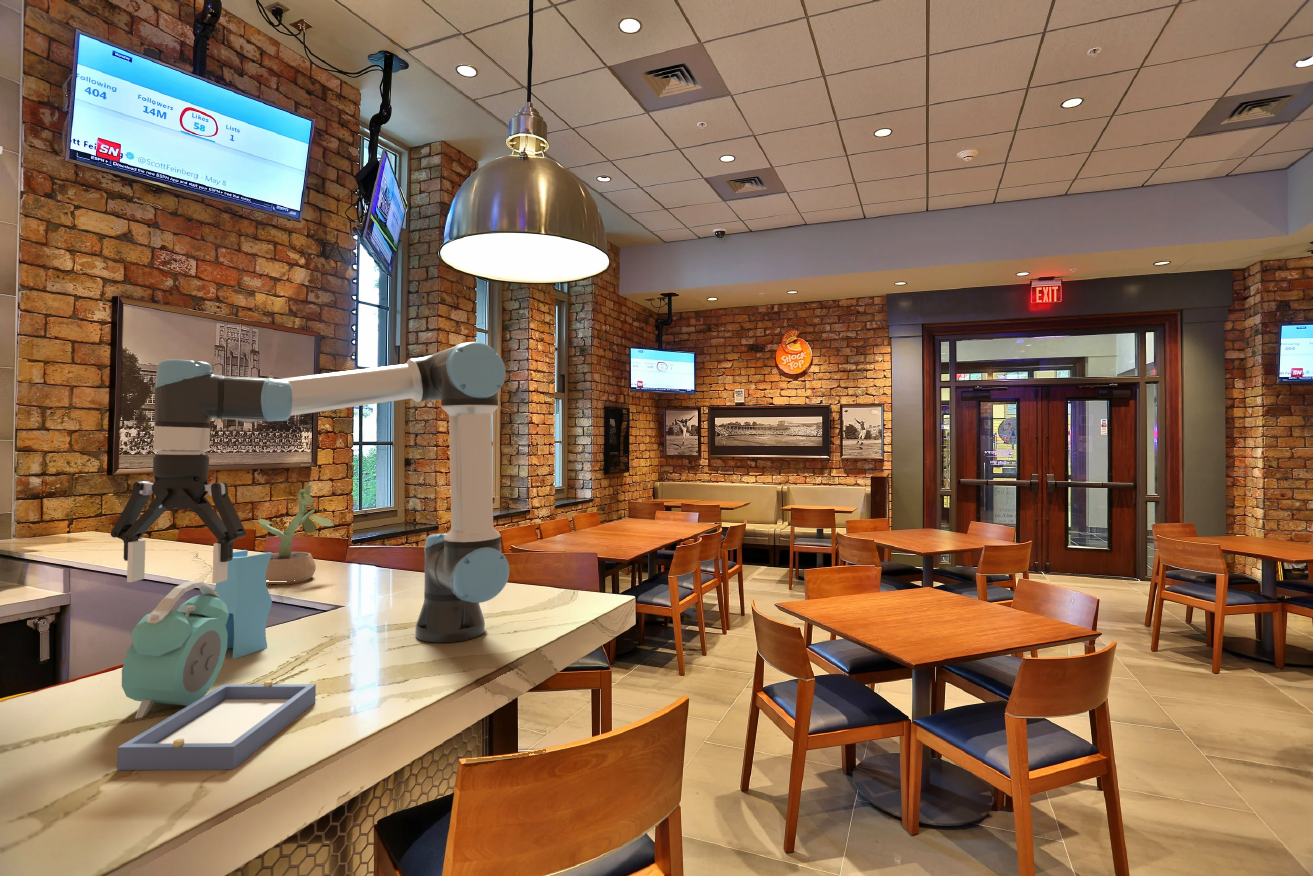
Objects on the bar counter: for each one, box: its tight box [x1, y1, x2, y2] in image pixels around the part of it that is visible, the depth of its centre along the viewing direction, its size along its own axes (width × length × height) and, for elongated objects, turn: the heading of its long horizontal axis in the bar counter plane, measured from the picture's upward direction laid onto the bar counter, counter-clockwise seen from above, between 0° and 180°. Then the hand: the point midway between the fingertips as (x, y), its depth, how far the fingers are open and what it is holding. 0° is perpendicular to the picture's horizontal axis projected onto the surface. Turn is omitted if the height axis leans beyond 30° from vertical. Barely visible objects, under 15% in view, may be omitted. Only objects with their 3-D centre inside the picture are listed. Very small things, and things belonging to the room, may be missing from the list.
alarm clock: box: [121, 580, 229, 719], centre depth 106 cm, size 17×10×20 cm, turn 5°
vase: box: [213, 549, 273, 659], centre depth 133 cm, size 8×8×20 cm
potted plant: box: [257, 484, 336, 585], centre depth 199 cm, size 22×18×30 cm
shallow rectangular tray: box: [116, 680, 317, 771], centre depth 95 cm, size 15×22×4 cm
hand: (177, 581), depth 106 cm, fingers open, 13 cm apart
